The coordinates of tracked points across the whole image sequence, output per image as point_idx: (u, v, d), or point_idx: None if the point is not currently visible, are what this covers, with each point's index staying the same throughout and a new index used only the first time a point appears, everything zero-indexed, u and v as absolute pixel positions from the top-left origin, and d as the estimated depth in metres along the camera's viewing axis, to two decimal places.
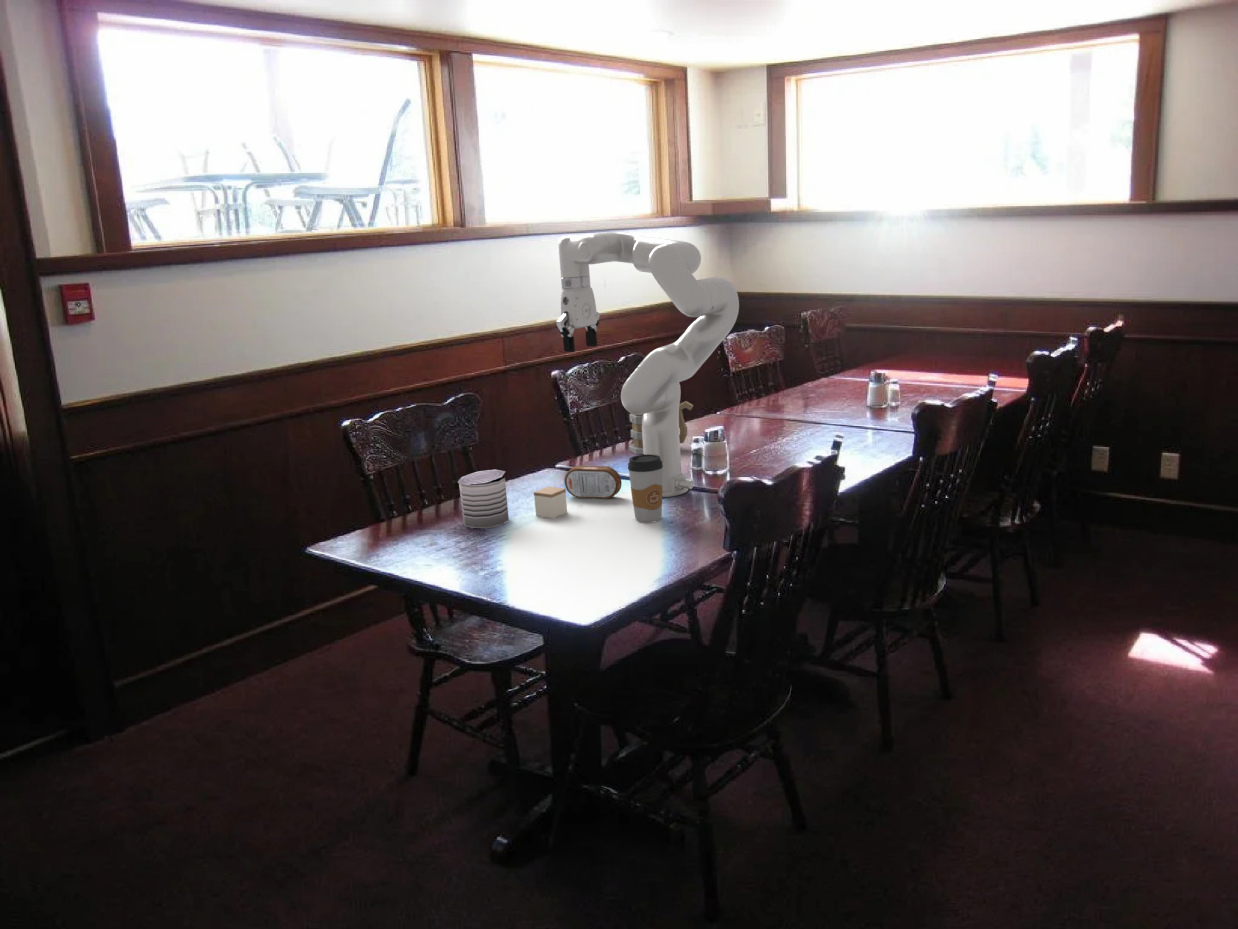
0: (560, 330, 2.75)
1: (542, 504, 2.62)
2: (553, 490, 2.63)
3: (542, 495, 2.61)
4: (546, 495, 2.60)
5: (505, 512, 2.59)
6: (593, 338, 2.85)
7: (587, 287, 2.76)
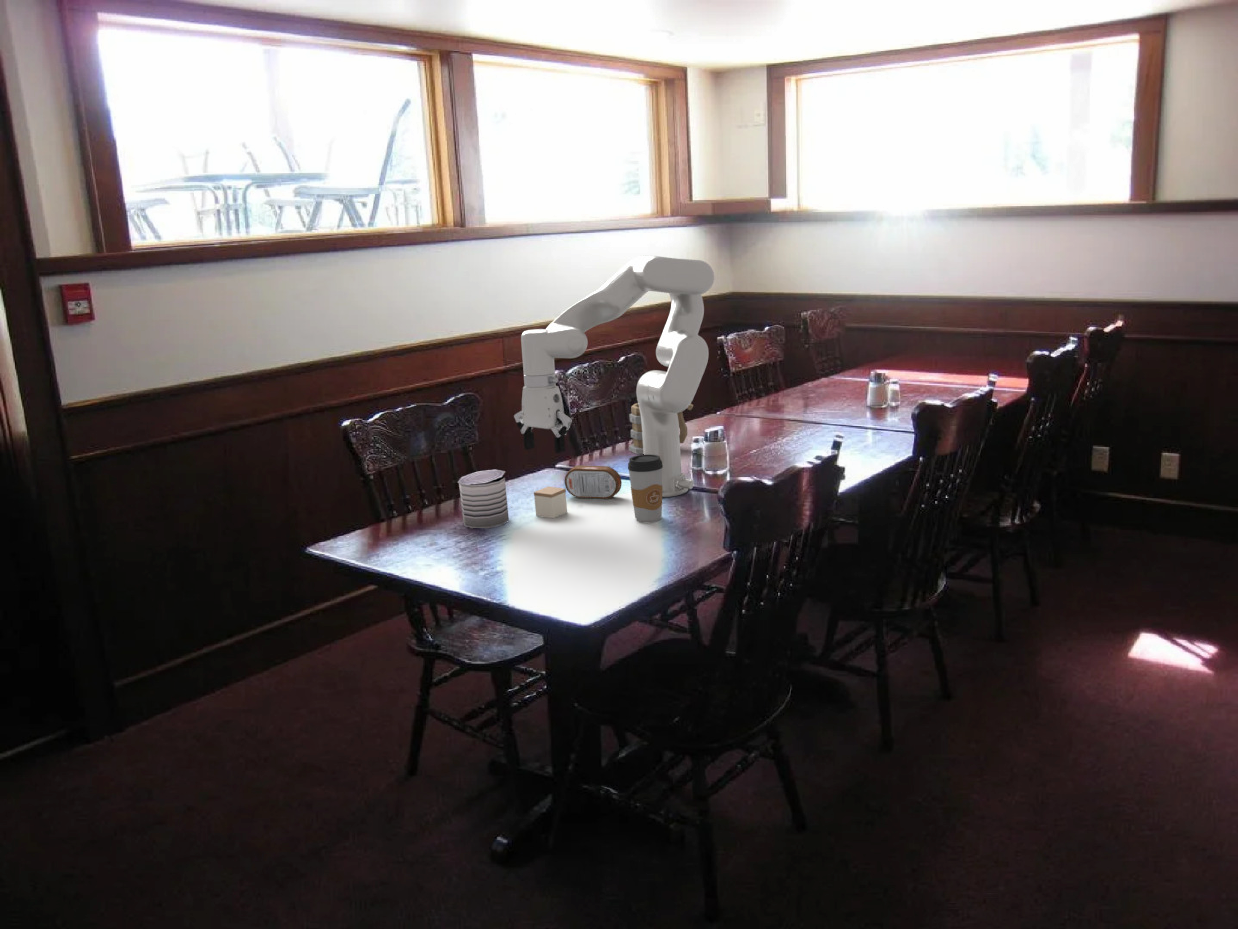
0: (567, 429, 2.54)
1: (542, 504, 2.62)
2: (553, 490, 2.63)
3: (542, 495, 2.61)
4: (546, 495, 2.60)
5: (505, 512, 2.59)
6: (533, 439, 2.63)
7: None
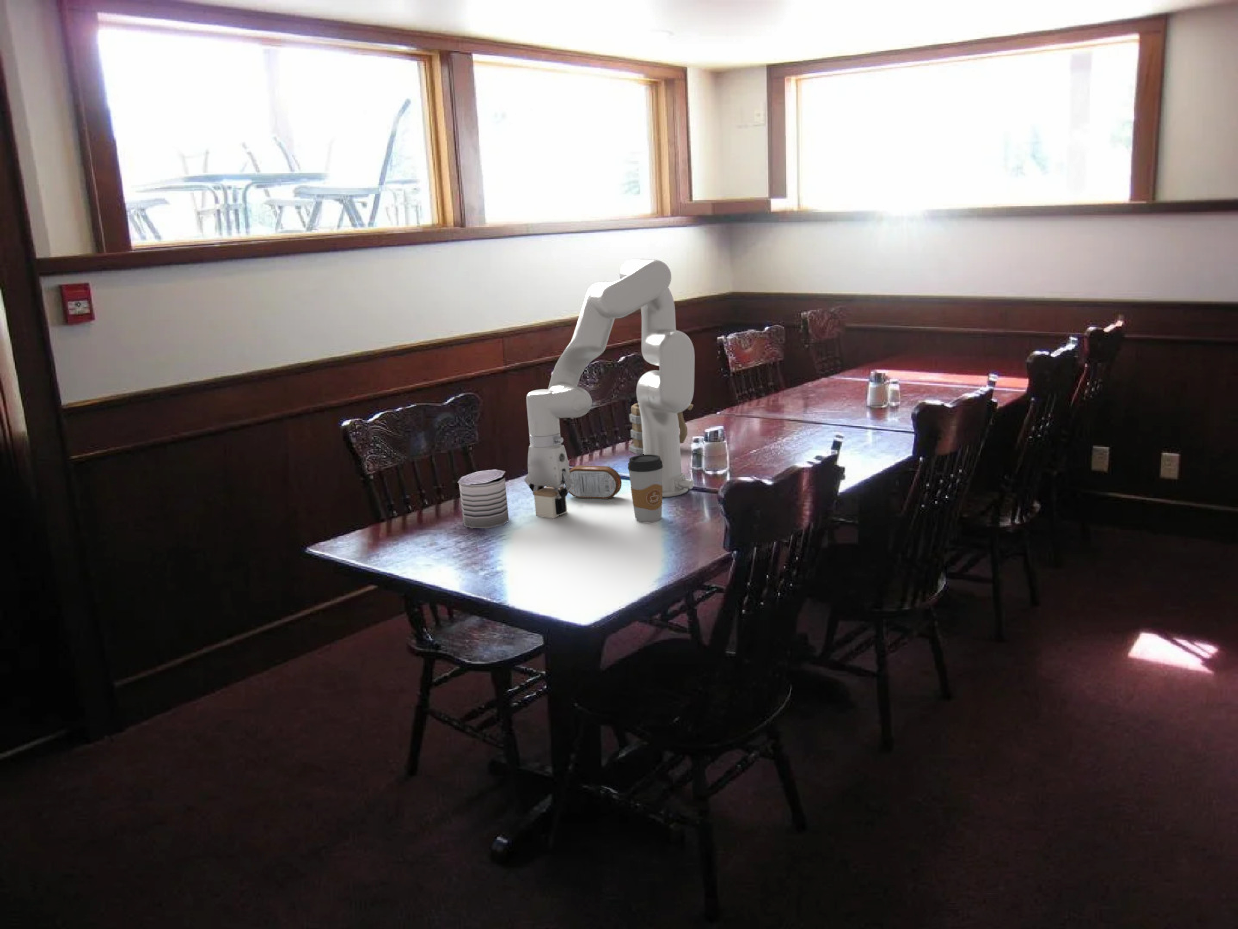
0: (567, 492, 2.59)
1: (542, 503, 2.62)
2: (553, 490, 2.63)
3: (542, 495, 2.61)
4: (546, 495, 2.60)
5: (505, 512, 2.59)
6: None
7: None
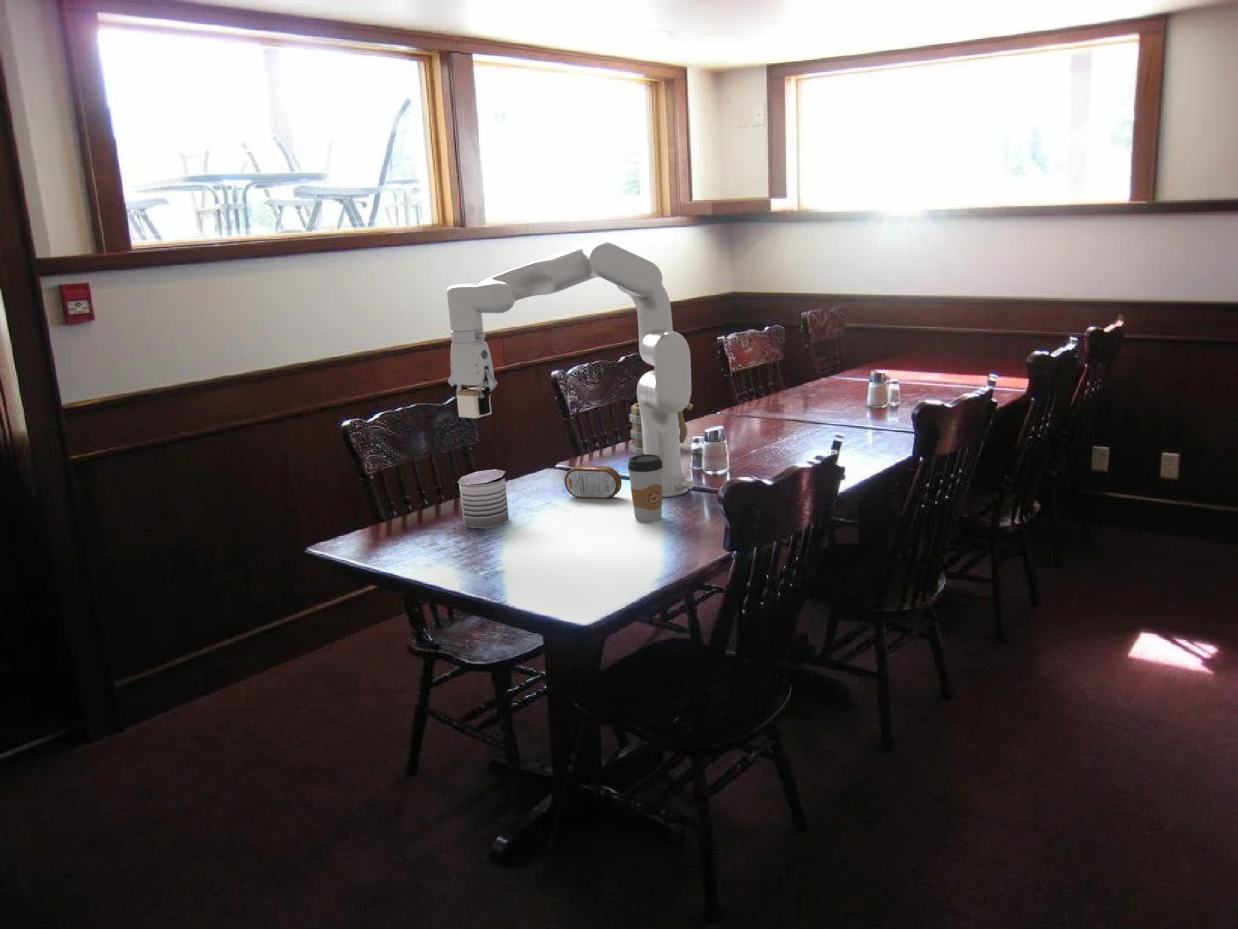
0: (490, 390, 2.50)
1: (464, 403, 2.52)
2: None
3: (464, 394, 2.52)
4: (468, 394, 2.51)
5: (505, 512, 2.59)
6: None
7: None
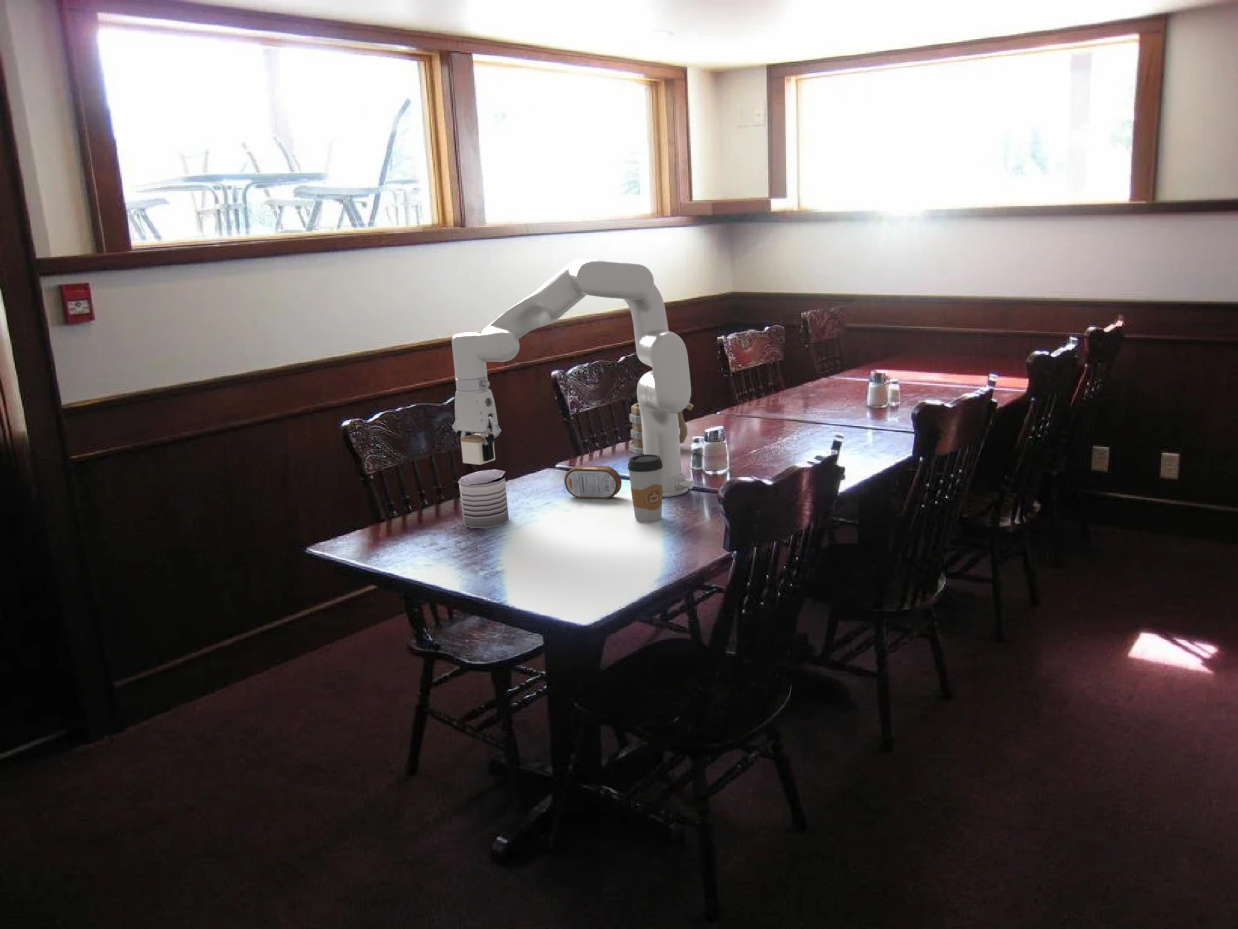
0: (494, 437, 2.53)
1: (468, 450, 2.55)
2: None
3: (468, 441, 2.54)
4: (472, 441, 2.53)
5: (505, 512, 2.59)
6: None
7: None
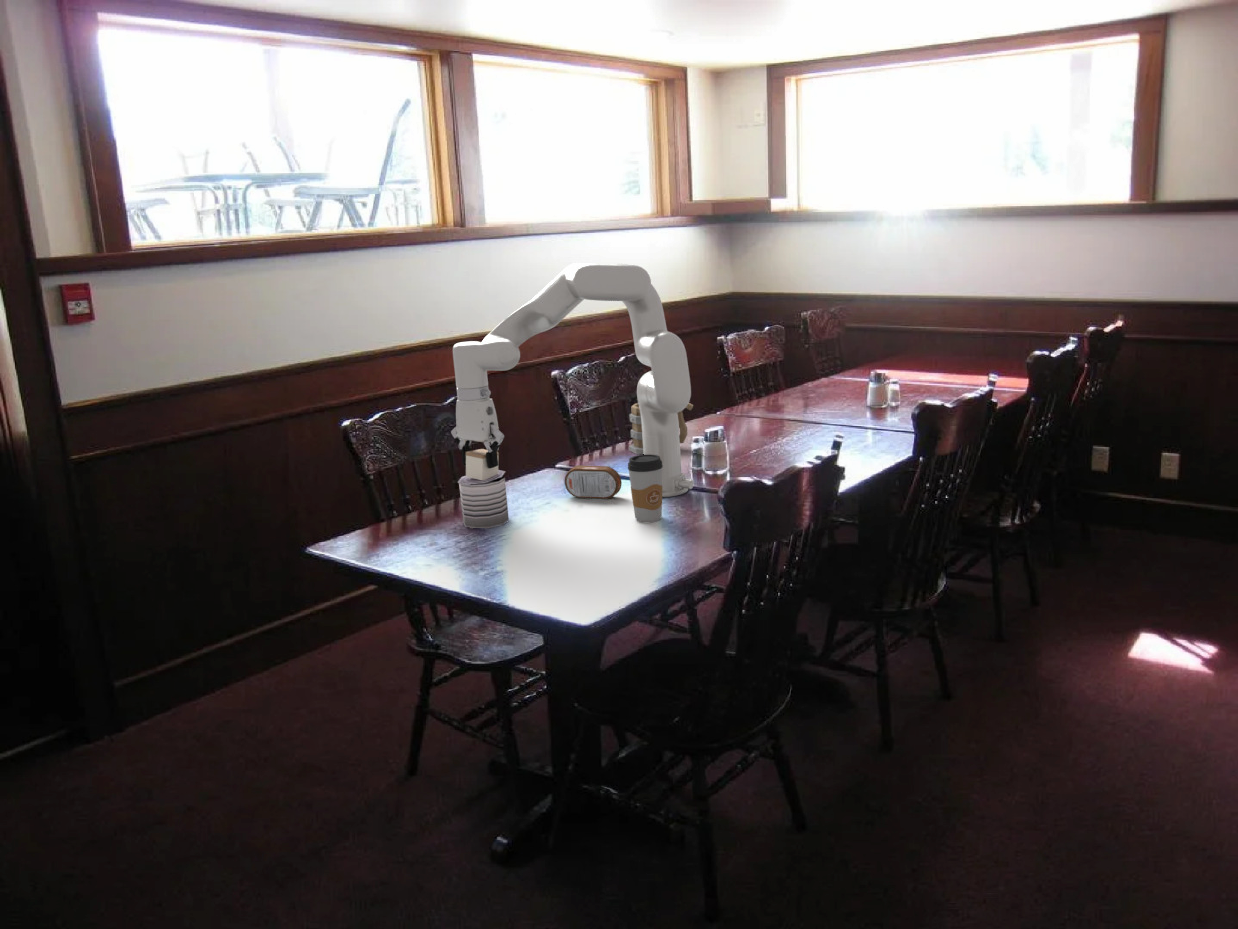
0: (498, 444, 2.53)
1: (472, 464, 2.56)
2: None
3: (473, 455, 2.55)
4: (477, 456, 2.55)
5: (505, 512, 2.59)
6: None
7: None
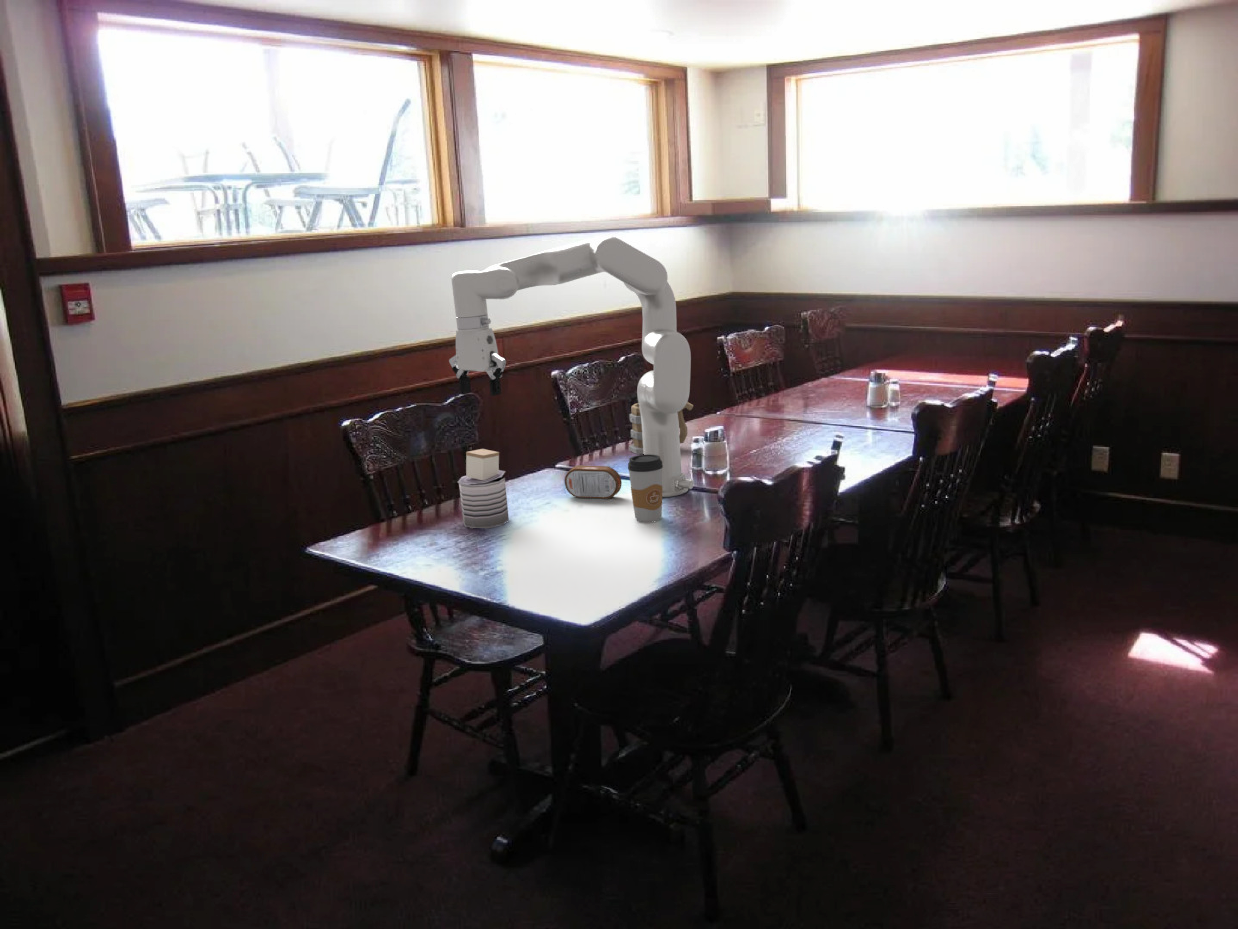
0: (501, 370, 2.52)
1: (473, 464, 2.56)
2: (487, 452, 2.57)
3: (474, 455, 2.55)
4: (478, 456, 2.55)
5: (505, 512, 2.59)
6: (469, 383, 2.60)
7: None
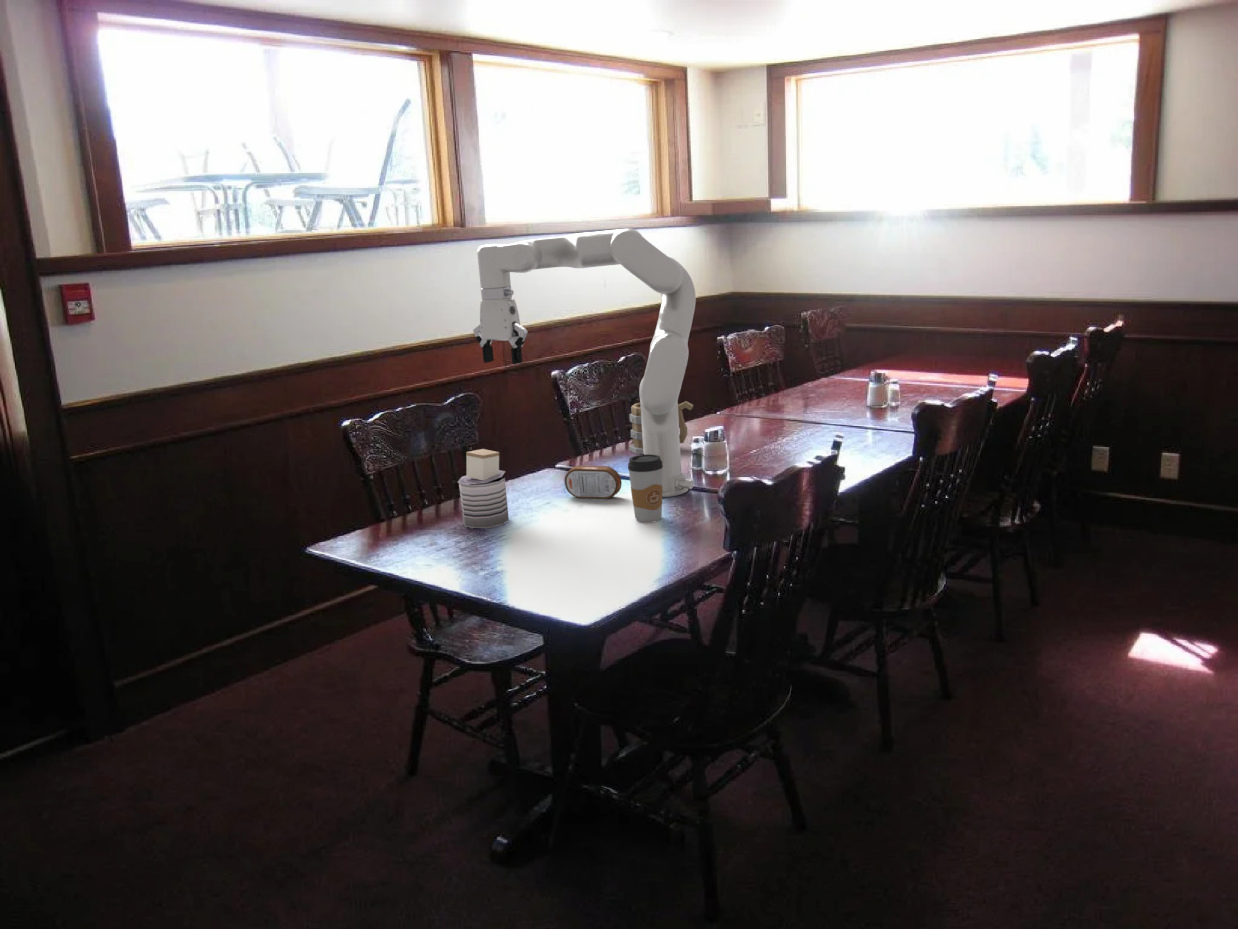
0: (523, 340, 2.64)
1: (473, 464, 2.56)
2: (487, 452, 2.57)
3: (474, 455, 2.55)
4: (478, 456, 2.55)
5: (505, 512, 2.59)
6: (492, 353, 2.73)
7: None
